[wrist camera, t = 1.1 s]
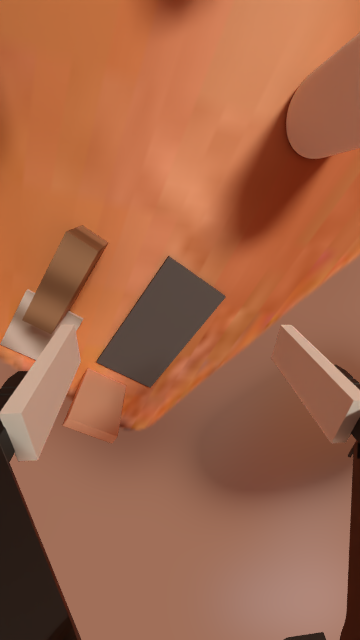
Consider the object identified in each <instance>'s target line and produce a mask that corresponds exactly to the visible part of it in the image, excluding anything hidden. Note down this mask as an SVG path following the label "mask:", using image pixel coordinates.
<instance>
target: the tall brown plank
mask: <svg viewBox="0 0 360 640" xmlns="http://www.w3.org/2000/svg"><path fill="white" fill-rule="evenodd" d="M107 244H108V242H107V241H105V240H104V239H102V238H101V237H99V236H98V235H96V234H95V233H93V232H92V231H90V230H89V229H87V228H86V227H84V226H83V225H82V226H80V227H77V228H74V229H71V230H69V231H66V233H65V235H64V237H63V239H62V241H61V243H60V245H59V247H58V249H57V251H56V253H55V255H54V257H53V259H52V261H51V263H50V265H49V267H48V269H47V271H46V273H45V275H44V277H43V279H42V281H41V283H40V285H39V287H38V289H37V291H36V293H34V292H32V291H30V290H27V291H26V292H25V294H24V296H23V298H22V300H21V302H20V305H19V307H18V309H17V311H16V313H15V315H14V317H13V319H12V321H11V323H10V325H9V327H8V329H7V331H6V333H5V336H4V338H3V340H2V342H1V344H0V345H2V346H5V347H7V348H9V349H12V350H14V351H16V352H19V353H21V354H23V355H25V356H28V357H30V358H32V359H35V360H37V358H38V357H39V356H40V354H41V353H42V351H43V350H44V348H45V347H46V346H47V344H48V343H49V341H50V340H51V338H52V337H53V336H54V334H55V333H56V331H57V330H58V329H59V327H60V326H61V325H75V330H76V331H77V329H78V327H79V326H80V324H81V322H82V321H83V318H82V317H80V316H78V315H76V314H74V313H72V312H70V311H69V310H70V308H71V307H72V305H73V303H74V301H75V300H76V298H77V296H78V294H79V293H80V291H81V289H82V287H83V286H84V284H85V282H86V280H87V279H88V277H89V275H90V274H91V272H92V270H93V268H94V267H95V265H96V263H97V261H98V260H99V258H100V256H101V254H102V253H103V251H104V249H105V247H106V246H107Z"/></svg>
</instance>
